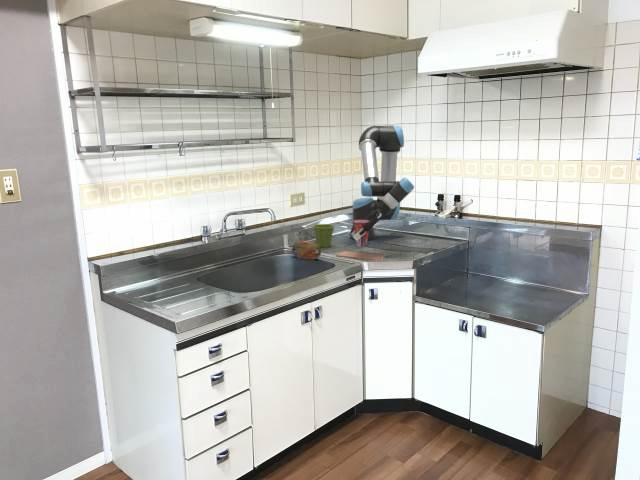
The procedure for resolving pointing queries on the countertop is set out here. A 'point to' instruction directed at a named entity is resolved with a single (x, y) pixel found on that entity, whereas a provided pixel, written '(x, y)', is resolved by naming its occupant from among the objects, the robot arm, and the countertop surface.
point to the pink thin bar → (366, 252)
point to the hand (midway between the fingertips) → (353, 237)
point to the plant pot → (323, 234)
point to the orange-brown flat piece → (306, 250)
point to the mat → (360, 255)
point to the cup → (358, 227)
